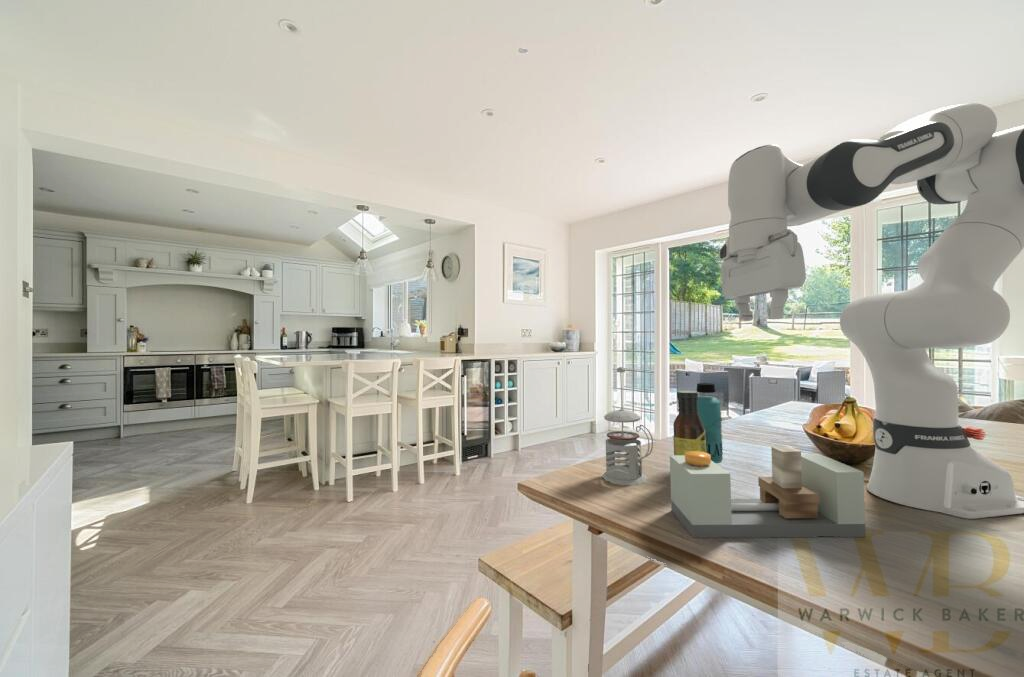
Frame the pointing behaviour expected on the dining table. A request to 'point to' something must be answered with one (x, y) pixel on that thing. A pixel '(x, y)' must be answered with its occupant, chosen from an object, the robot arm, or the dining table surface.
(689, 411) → the sauce bottle
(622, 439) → the french press
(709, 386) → the beverage bottle
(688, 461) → the button
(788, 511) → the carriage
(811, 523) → the rail bench
